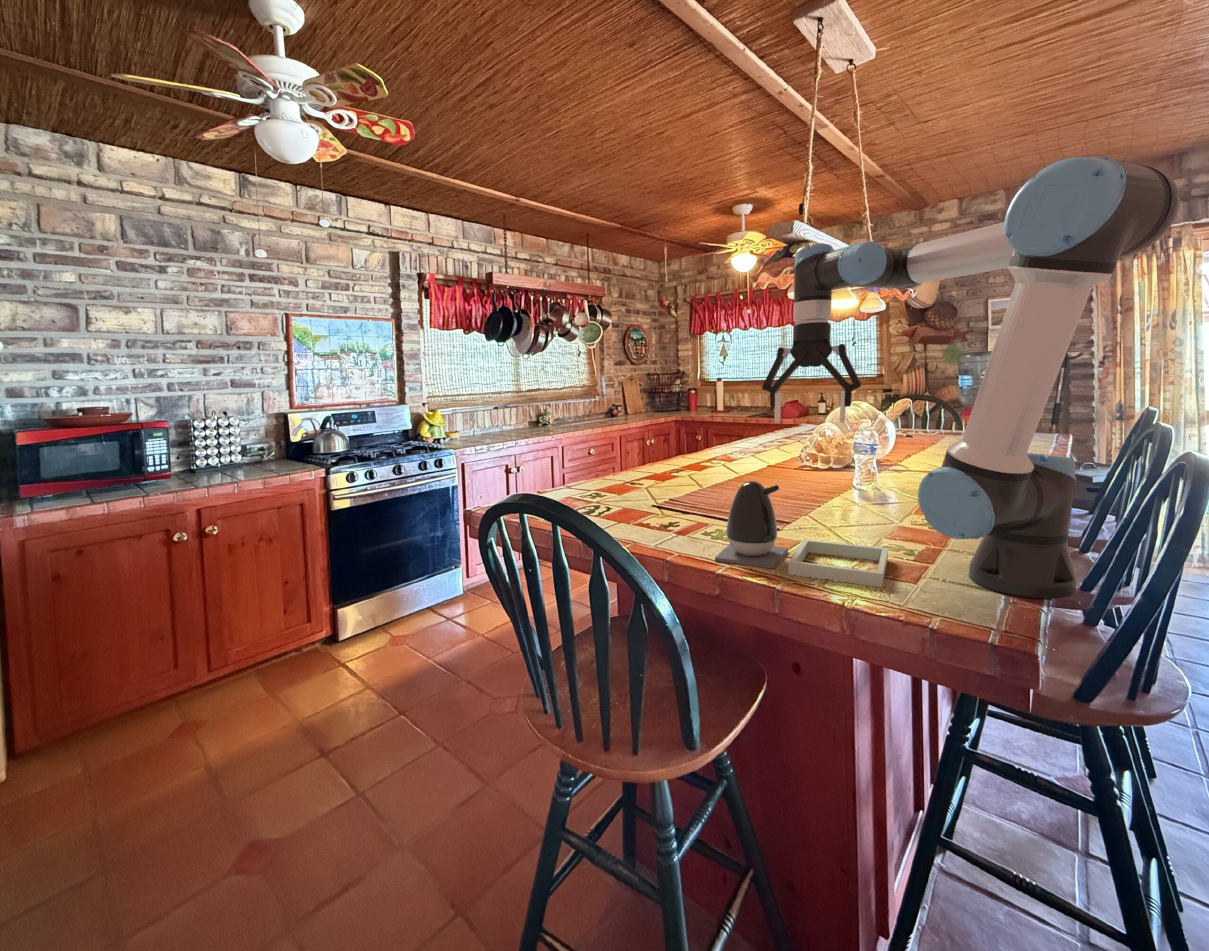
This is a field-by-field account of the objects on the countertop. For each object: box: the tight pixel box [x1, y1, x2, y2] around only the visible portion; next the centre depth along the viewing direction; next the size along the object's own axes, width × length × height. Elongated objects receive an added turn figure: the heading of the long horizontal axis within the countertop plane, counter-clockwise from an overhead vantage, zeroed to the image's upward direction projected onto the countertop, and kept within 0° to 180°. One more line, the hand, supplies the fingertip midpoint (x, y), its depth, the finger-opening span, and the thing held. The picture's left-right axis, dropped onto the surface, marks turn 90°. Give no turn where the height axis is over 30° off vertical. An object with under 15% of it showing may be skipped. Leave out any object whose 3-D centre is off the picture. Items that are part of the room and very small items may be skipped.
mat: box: [714, 543, 788, 570], centre depth 117 cm, size 12×12×1 cm
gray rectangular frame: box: [787, 539, 889, 589], centre depth 109 cm, size 16×16×2 cm
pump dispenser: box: [726, 480, 780, 556], centre depth 116 cm, size 10×10×15 cm
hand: (809, 422), depth 124 cm, fingers open, 13 cm apart
